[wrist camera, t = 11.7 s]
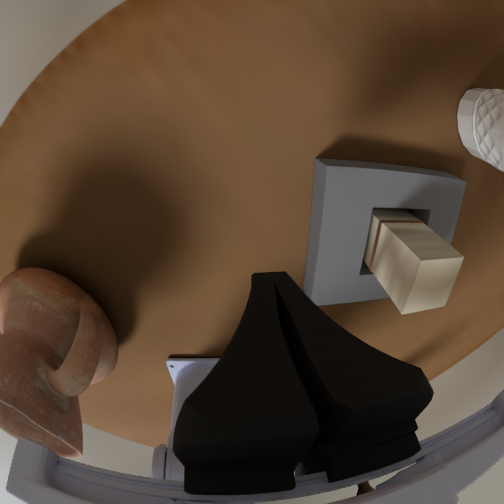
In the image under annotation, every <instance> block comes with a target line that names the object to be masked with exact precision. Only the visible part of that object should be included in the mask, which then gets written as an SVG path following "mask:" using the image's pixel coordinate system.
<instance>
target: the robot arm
mask: <svg viewBox="0 0 504 504" xmlns="http://www.w3.org/2000/svg"><path fill="white" fill-rule="evenodd" d="M166 364H167V366H168V369H169V372H170V375H171V377H172V380H173V382H174V385H175V388H174V397H173V407H172V417H171V428H170V436H169V437H168V448H166V445H165V444H160V445H159V446H158V447H156V448H155V449H154V454H153V462H152V473H151V478H148V477H141V476H136V475H130V474H124V473H119V472H115V471H110V470H106V469H101V468H97V467H94V466H90V465H86V464H83V463H79V462H76V461H73V460H70V459H67V458H64V457H61V456H58V455H57V454H56V453H55V452H54V451H52V450H51V449H49V448H48V447H46V446H44V445H42V444H40V443H37V442H35V441H33V440H30V439H28V438H25V437H23V436H19V438H18V442H17V445H16V449H15V452H14V456H13V459H12V463H11V467H10V472H9V476H8V481H7V486H6V490H7V492H9V493H10V494H12V495H14V496H15V497H17V498H19V499H21V500H22V501H24V502H26V503H27V504H263V502H265V501H275V500H283V499H291V498H298V497H303V496H309V495H315V494H320V493H324V492H329V491H333V490H337V489H341V488H345V487H348V486H352V485H356V484H359V483H363V482H366V481H369V480H372V479H375V478H378V477H381V476H384V475H386V474H389V473H392V472H394V471H397V470H400V469H402V468H404V467H407V466H409V465H412V464H414V463H416V462H417V463H416V464H414V465H412V466H410V467H408V468H406V469H404V470H402V471H400V472H398V473H397V474H396V475H395V476H393V477H392V478H390V479H389V480H387V481H385V482H383V483H381V484H379V485H377V486H376V488H375V489H376V490H373V491H370V492H367V493H364V494H361V495H357V496H354V497H351V498H347V499H343V500H339V501H336V502H332V503H328V504H456V503H457V502H458V500H459V499H458V496H457V494H458V493H460V492H461V491H462V490H464V489H465V488H466V487H468V486H469V485H470V484H472V483H473V482H474V481H476V480H477V479H478V478H479V477H481V476H482V475H483V474H484V473H485V472H487V471H488V470H489V469H490V468H491V467H492V466H493V465H495V464H496V463H497V462H498V461H499V460H500V459H501V458H502V457H503V456H504V390H503V391H502V392H501V393H499V395H497V397H496V398H495V399H494V400H493V401H492V403H490V404H489V405H487V406H486V407H484V408H483V409H481V410H479V411H478V412H476V413H474V414H473V415H471V416H469V417H467V418H466V419H464V420H462V421H460V422H458V423H457V424H455V425H453V426H451V427H449V428H447V429H445V430H443V431H441V432H439V433H437V434H435V435H433V436H431V437H429V438H426V439H424V440H422V441H418V439H417V436H416V434H415V431H416V430H417V429H418V426H417V423H416V421H415V419H416V418H417V417H418V416H419V414H420V413H421V412H422V411H423V410H424V409H425V408H426V407H427V405H428V404H429V402H430V401H431V400H432V397H433V394H434V392H433V389H432V387H431V385H430V384H429V382H428V380H427V378H426V376H425V374H424V373H423V371H422V370H421V368H419V367H416V366H414V365H411V364H409V363H406V362H403V361H401V360H398V359H396V358H394V357H391V356H389V355H387V354H385V353H383V352H381V351H379V350H377V349H375V348H374V347H372V346H370V345H368V344H367V343H365V342H363V341H362V340H360V339H358V338H357V337H355V336H354V335H352V334H351V333H349V332H348V331H346V330H345V329H344V328H342V327H341V326H340V325H338V324H337V323H336V322H334V321H333V320H332V319H331V318H330V317H328V316H327V315H326V314H325V313H324V312H323V311H322V310H321V309H320V308H319V307H318V306H317V305H316V304H315V303H314V302H313V301H312V300H311V299H310V298H309V297H308V296H307V295H306V294H305V293H304V292H303V291H302V290H301V289H300V287H299V286H298V285H297V284H296V283H295V282H294V281H293V279H292V278H291V277H290V276H289V275H288V274H287V273H286V272H285V271H284V272H264V273H254V274H253V275H251V291H250V295H249V299H248V302H247V305H246V308H245V311H244V313H243V316H242V319H241V321H240V323H239V326H238V328H237V330H236V332H235V334H234V336H233V338H232V339H231V341H230V343H229V345H228V346H227V348H226V350H225V351H224V353H223V354H222V356H221V357H220V358H168V359H167V361H166ZM294 471H295V477H294Z"/></svg>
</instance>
